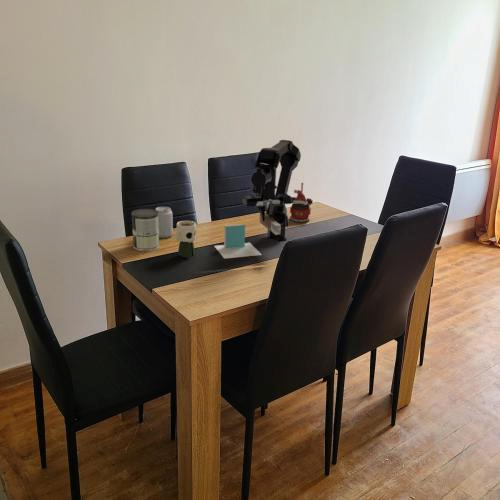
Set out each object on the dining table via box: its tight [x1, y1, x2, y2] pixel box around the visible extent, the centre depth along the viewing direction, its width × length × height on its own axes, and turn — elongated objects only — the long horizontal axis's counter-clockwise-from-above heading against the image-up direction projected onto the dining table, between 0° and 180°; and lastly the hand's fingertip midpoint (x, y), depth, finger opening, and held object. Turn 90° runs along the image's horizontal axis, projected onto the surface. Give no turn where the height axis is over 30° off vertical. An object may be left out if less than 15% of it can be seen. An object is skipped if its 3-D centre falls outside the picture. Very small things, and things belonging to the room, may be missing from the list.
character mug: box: [175, 220, 197, 258], centre depth 190 cm, size 11×7×13 cm, turn 145°
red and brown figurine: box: [289, 182, 313, 223], centre depth 237 cm, size 11×9×18 cm
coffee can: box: [130, 208, 160, 252], centre depth 198 cm, size 10×10×14 cm
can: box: [155, 206, 174, 239], centre depth 210 cm, size 8×8×12 cm
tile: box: [223, 223, 246, 248], centre depth 199 cm, size 8×2×9 cm, turn 110°
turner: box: [259, 212, 281, 235], centre depth 195 cm, size 2×16×4 cm, turn 20°
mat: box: [214, 242, 263, 260], centre depth 197 cm, size 15×14×1 cm
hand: (266, 221), depth 198 cm, fingers closed on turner, 2 cm apart
